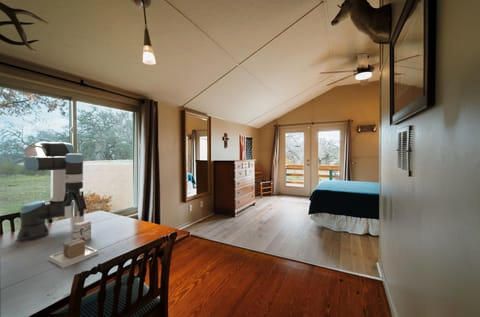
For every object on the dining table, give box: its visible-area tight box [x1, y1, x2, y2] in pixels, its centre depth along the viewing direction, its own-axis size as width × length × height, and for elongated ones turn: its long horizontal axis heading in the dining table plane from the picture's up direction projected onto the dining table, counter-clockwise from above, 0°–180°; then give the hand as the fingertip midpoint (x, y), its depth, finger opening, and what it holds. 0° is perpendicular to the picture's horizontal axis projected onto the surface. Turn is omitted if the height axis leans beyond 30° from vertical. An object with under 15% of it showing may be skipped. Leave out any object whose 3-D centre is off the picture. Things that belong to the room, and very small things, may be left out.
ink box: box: [72, 219, 92, 241], centre depth 131 cm, size 9×5×12 cm, turn 168°
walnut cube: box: [62, 238, 86, 259], centre depth 110 cm, size 7×7×7 cm
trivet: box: [48, 244, 99, 269], centre depth 110 cm, size 16×16×2 cm
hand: (74, 219), depth 110 cm, fingers open, 13 cm apart
